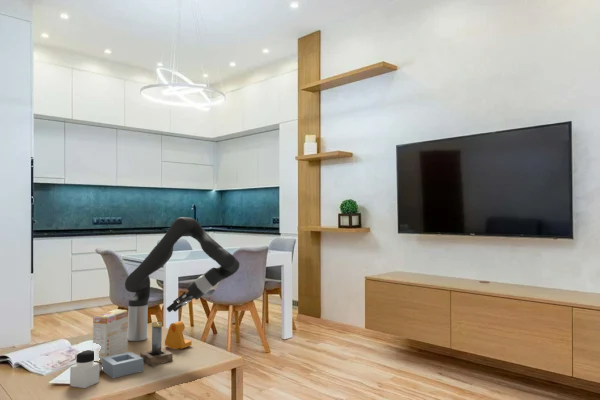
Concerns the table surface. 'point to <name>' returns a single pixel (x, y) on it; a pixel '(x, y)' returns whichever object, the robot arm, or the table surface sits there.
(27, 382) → the table surface
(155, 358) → the socket block
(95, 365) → the medicine bottle
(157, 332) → the silver metal cylinder
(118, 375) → the block
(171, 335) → the bracket
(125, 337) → the coffeecake box
